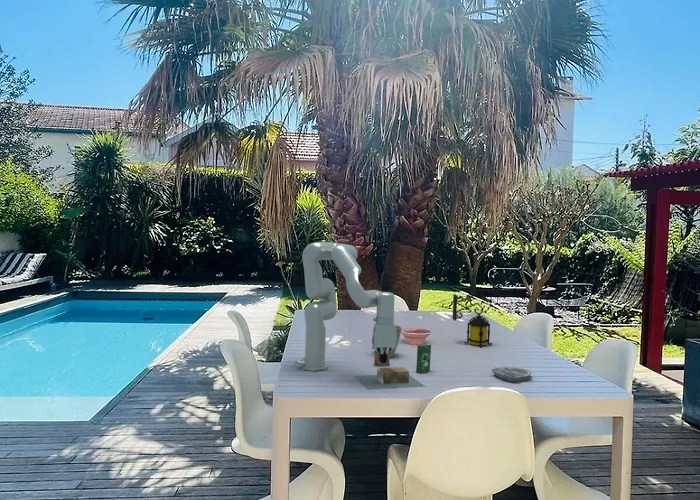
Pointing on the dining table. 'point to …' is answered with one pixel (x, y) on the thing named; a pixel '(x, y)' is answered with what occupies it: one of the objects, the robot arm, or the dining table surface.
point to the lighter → (377, 357)
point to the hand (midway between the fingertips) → (383, 362)
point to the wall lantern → (474, 324)
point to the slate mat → (373, 383)
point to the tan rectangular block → (392, 375)
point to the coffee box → (423, 358)
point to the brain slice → (512, 374)
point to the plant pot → (398, 332)
